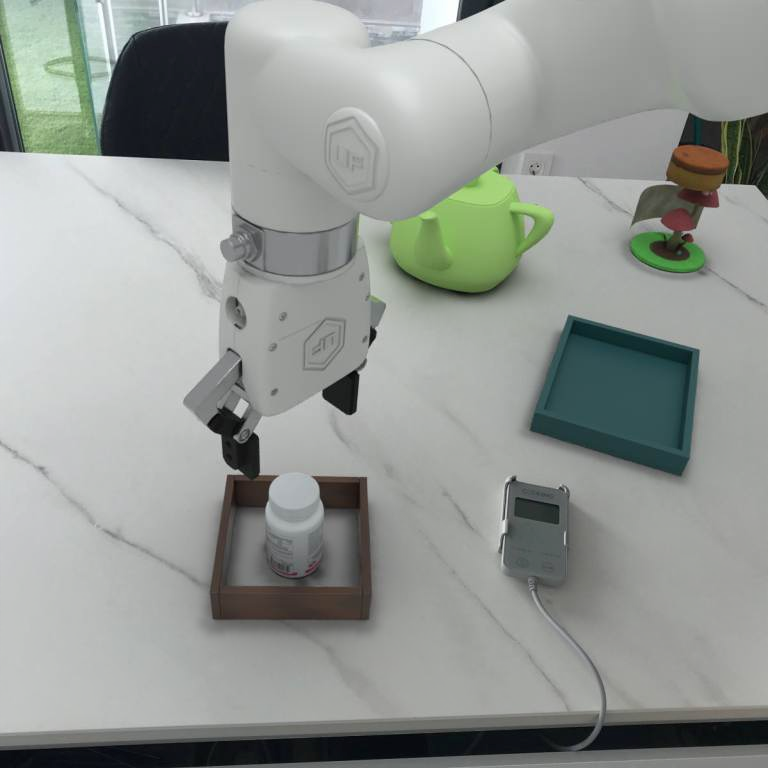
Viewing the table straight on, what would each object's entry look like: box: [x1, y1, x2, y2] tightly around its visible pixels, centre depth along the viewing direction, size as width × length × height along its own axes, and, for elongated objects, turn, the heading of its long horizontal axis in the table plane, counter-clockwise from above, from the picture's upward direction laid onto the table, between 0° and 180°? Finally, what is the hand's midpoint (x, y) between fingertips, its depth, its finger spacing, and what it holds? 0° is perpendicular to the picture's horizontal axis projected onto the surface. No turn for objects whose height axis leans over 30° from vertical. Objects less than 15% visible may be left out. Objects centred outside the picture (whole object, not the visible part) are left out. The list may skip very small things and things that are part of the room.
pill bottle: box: [264, 471, 325, 579], centre depth 64 cm, size 5×5×8 cm
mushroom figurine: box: [629, 144, 730, 273], centre depth 108 cm, size 12×13×15 cm
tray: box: [529, 314, 701, 477], centre depth 86 cm, size 20×16×3 cm
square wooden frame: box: [209, 473, 373, 621], centre depth 65 cm, size 12×12×4 cm
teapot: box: [388, 166, 555, 293], centre depth 101 cm, size 19×20×14 cm
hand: (292, 435), depth 57 cm, fingers open, 9 cm apart
